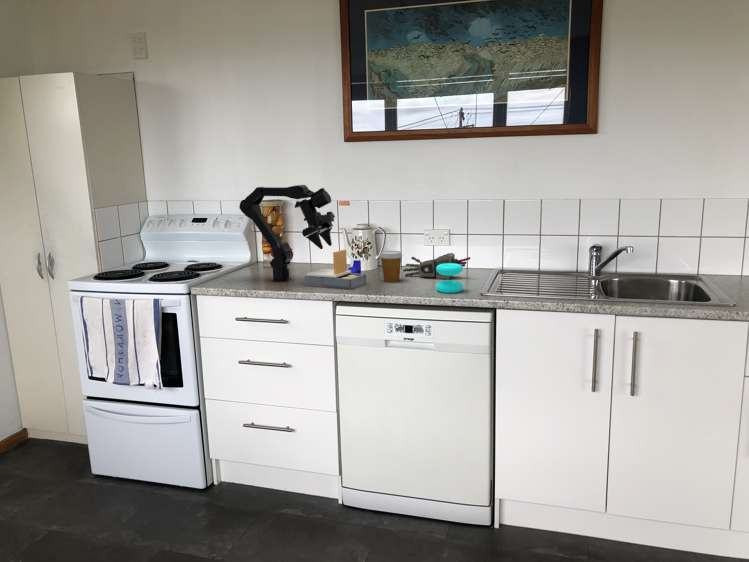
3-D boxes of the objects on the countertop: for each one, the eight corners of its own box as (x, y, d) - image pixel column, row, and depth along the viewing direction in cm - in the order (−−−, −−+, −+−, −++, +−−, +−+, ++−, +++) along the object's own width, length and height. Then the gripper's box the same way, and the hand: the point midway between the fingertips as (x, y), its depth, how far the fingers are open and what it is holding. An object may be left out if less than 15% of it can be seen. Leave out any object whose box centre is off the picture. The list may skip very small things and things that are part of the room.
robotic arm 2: (398, 258, 252) (467, 253, 240) (404, 255, 259) (471, 250, 247) (401, 282, 253) (469, 278, 242) (407, 279, 261) (474, 275, 249)
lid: (306, 275, 242) (305, 251, 240) (323, 270, 252) (322, 247, 250) (335, 277, 235) (334, 253, 233) (351, 272, 245) (350, 249, 243)
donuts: (451, 268, 216) (430, 265, 224) (451, 294, 218) (430, 291, 226) (468, 264, 223) (447, 261, 230) (468, 290, 225) (447, 286, 232)
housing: (305, 285, 243) (304, 275, 242) (321, 280, 253) (321, 270, 252) (351, 289, 232) (350, 279, 232) (366, 283, 243) (365, 274, 242)
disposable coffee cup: (397, 277, 254) (397, 249, 251) (406, 281, 245) (406, 252, 242) (377, 279, 250) (376, 251, 248) (385, 283, 242) (384, 254, 239)
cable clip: (353, 272, 269) (352, 259, 268) (361, 273, 266) (360, 260, 265) (336, 277, 259) (335, 263, 258) (344, 278, 257) (343, 264, 255)
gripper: (316, 206, 234) (333, 242, 235) (334, 203, 251) (350, 236, 252) (294, 218, 238) (311, 253, 239) (313, 214, 256) (329, 247, 256)
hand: (326, 247), depth 246 cm, fingers open, 9 cm apart
